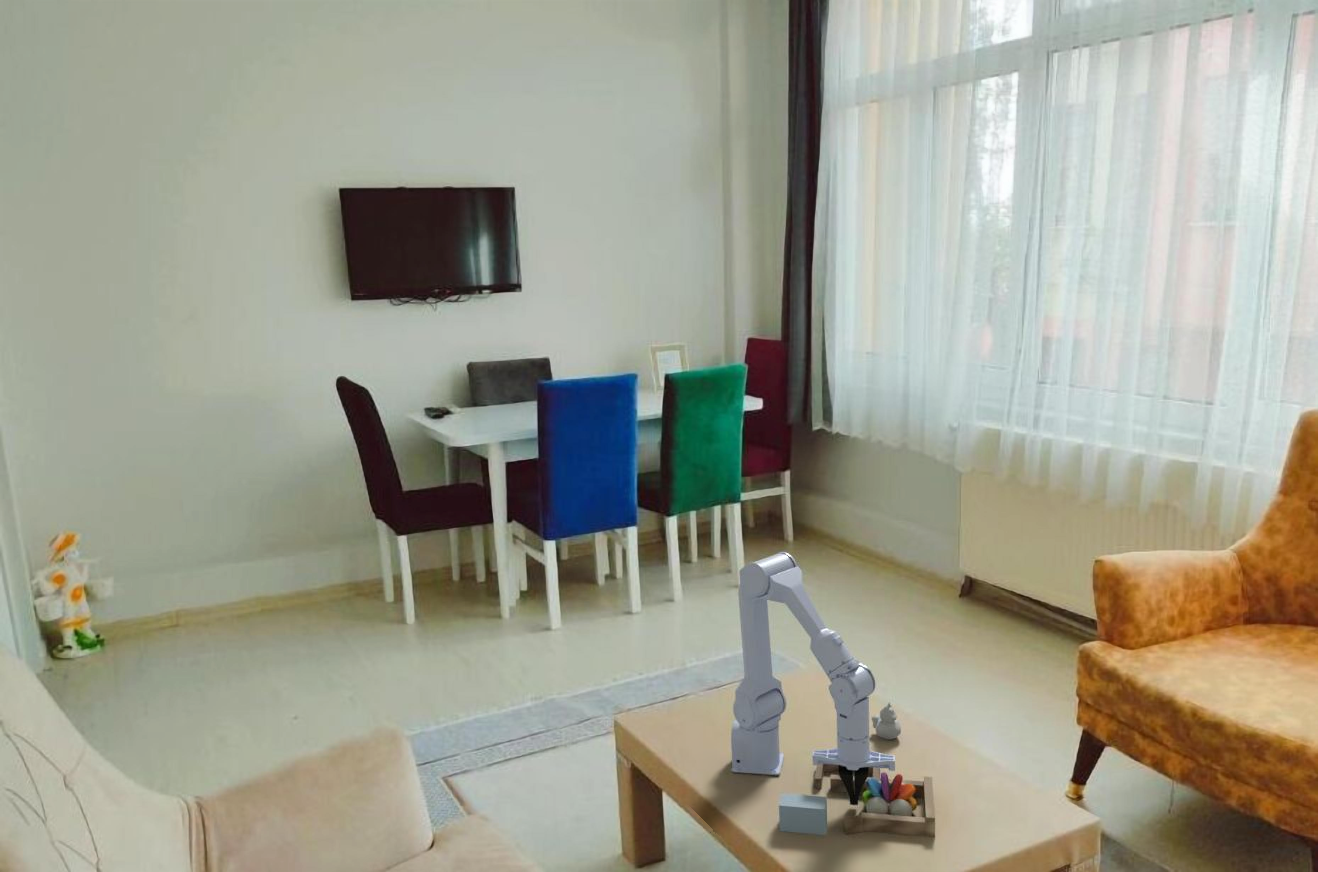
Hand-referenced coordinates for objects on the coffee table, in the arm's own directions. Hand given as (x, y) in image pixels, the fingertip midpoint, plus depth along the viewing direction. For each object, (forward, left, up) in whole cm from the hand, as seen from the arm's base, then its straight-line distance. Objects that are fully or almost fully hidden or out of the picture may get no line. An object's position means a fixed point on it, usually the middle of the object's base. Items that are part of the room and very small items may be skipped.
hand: (854, 802), depth 176 cm
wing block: (-9, -7, -1) cm, 11 cm away
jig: (+3, +2, -1) cm, 4 cm away
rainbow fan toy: (+6, 0, -2) cm, 6 cm away
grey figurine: (+5, +28, -2) cm, 29 cm away
